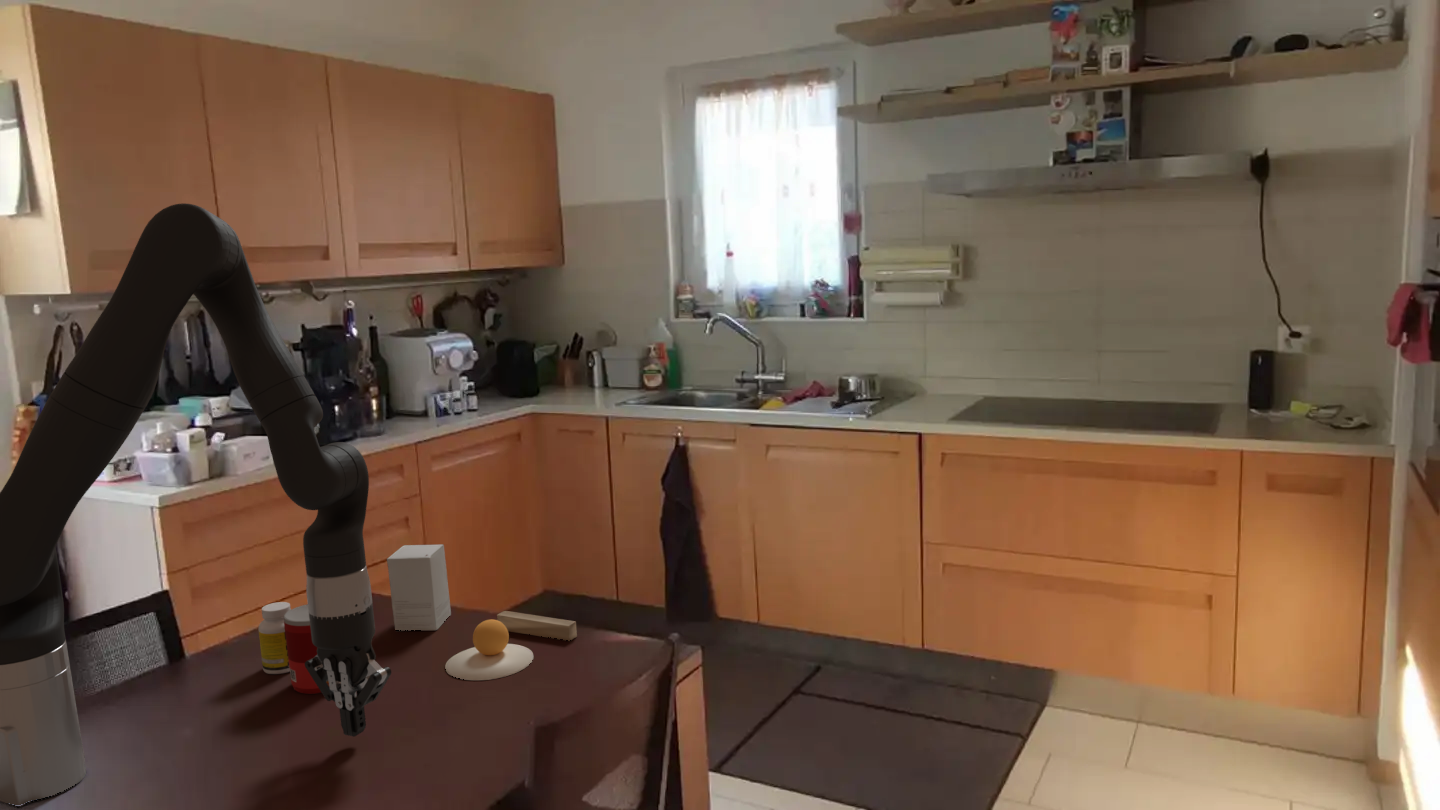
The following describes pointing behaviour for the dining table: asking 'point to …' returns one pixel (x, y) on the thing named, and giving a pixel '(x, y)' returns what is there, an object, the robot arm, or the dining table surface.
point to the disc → (489, 663)
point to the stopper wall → (538, 625)
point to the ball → (490, 637)
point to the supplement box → (419, 587)
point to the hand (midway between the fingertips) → (354, 733)
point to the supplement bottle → (274, 638)
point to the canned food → (300, 649)
